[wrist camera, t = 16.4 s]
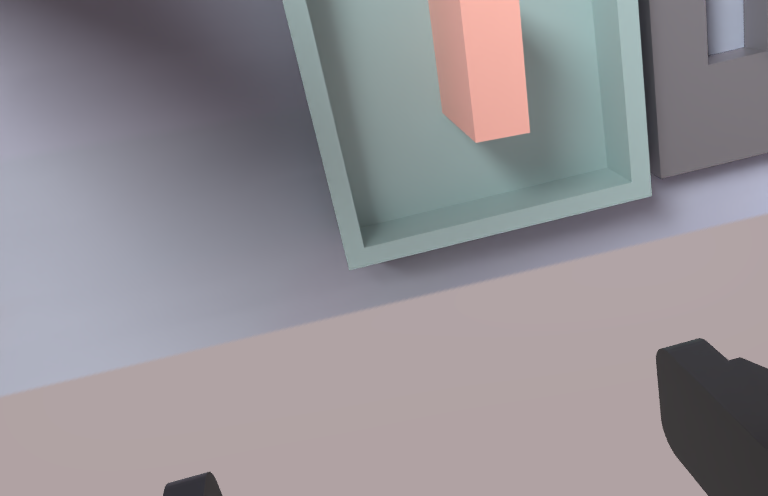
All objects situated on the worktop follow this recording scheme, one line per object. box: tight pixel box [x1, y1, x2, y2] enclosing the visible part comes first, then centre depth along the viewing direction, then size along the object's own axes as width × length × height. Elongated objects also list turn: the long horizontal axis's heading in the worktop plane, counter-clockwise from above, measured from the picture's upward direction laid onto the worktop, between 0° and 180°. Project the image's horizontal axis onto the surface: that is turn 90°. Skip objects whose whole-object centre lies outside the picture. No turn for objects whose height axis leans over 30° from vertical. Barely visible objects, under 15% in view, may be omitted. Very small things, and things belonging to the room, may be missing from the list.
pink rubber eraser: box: [428, 0, 530, 143], centre depth 33 cm, size 6×2×7 cm, turn 9°
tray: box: [282, 0, 652, 270], centre depth 36 cm, size 18×16×4 cm
